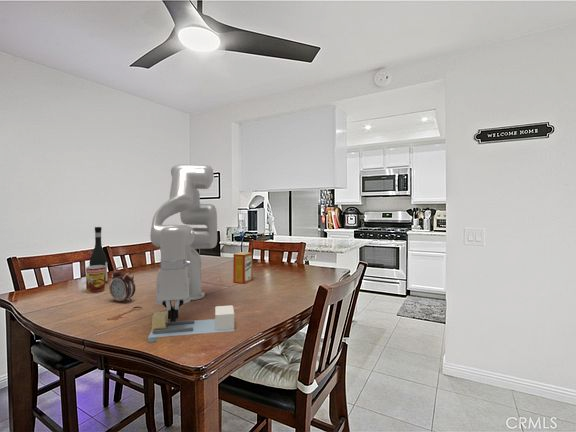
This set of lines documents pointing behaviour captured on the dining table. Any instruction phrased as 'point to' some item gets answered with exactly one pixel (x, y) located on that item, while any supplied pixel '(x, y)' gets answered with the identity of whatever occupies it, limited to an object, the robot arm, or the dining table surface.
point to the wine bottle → (98, 252)
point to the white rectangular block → (224, 317)
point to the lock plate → (185, 329)
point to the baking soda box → (242, 267)
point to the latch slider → (160, 320)
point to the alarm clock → (122, 285)
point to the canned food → (95, 279)
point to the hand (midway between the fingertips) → (173, 320)
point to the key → (123, 314)
